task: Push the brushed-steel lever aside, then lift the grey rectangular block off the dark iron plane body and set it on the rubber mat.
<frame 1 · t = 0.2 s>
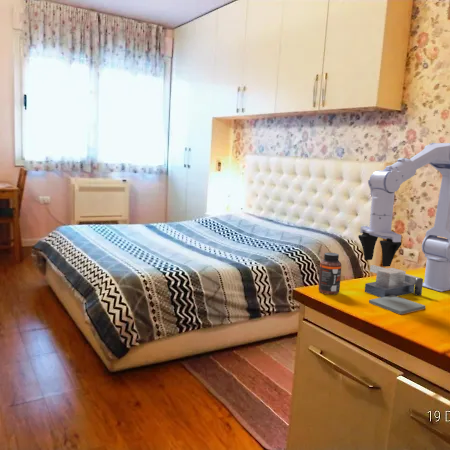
hand: (377, 262, 123), 10 cm above the table, fingers open, 7 cm apart
supplement bottle: (328, 292, 128), on the table
plane body: (389, 292, 130), on the table
rubber mat: (396, 305, 118), on the table
grey rectangular block: (390, 284, 130), point 2 cm above the table, touching plane body
steel lever: (395, 279, 134), point 3 cm above the table, hinge at 0.0°
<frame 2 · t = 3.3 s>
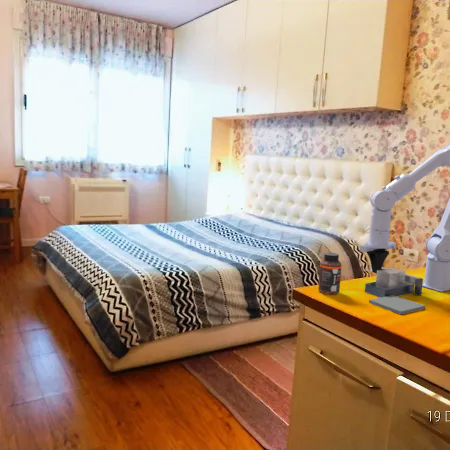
hand: (375, 272, 139), 3 cm above the table, fingers closed
steel lever: (395, 279, 135), point 3 cm above the table, hinge at -0.3°, touching gripper
everything else where it was.
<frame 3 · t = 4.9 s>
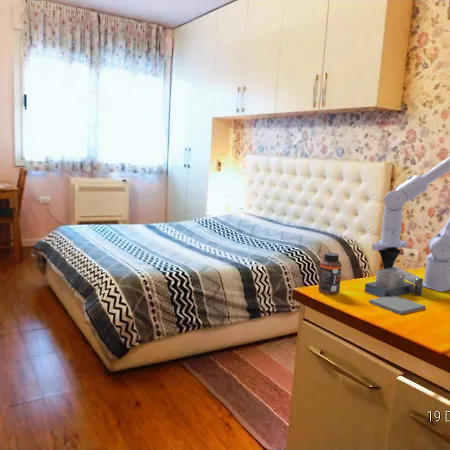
hand: (387, 270, 141), 3 cm above the table, fingers closed
steel lever: (403, 278, 136), point 3 cm above the table, hinge at -23.7°, touching gripper
everything else where it was.
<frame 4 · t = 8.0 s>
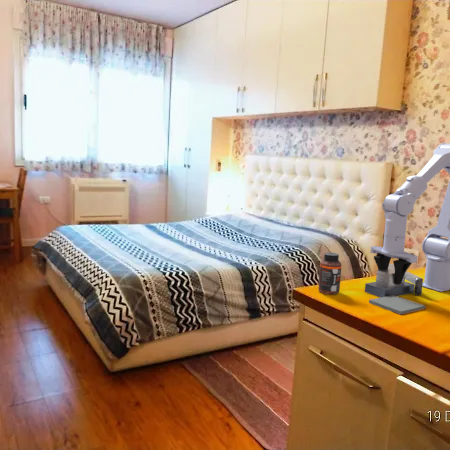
hand: (390, 281, 129), 3 cm above the table, fingers closed on grey rectangular block, 4 cm apart
grey rectangular block: (390, 284, 130), point 2 cm above the table, touching gripper, plane body
steel lever: (404, 278, 136), point 3 cm above the table, hinge at -24.5°
everything else where it was.
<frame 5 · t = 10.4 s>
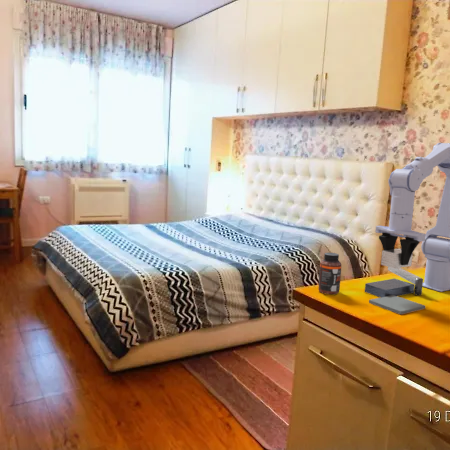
hand: (396, 262, 122), 10 cm above the table, fingers closed on grey rectangular block, 4 cm apart
grey rectangular block: (396, 265, 122), point 10 cm above the table, touching gripper
everything else where it was.
when the fingers open (3 cm above the table, at t = 12.8 s): grey rectangular block drops 1 cm, resting on rubber mat.
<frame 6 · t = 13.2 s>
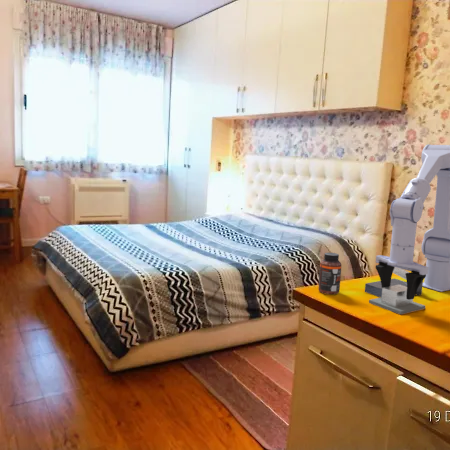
hand: (397, 294, 117), 3 cm above the table, fingers open, 7 cm apart
grey rectangular block: (396, 302, 118), point 1 cm above the table, touching rubber mat
everything else where it was.
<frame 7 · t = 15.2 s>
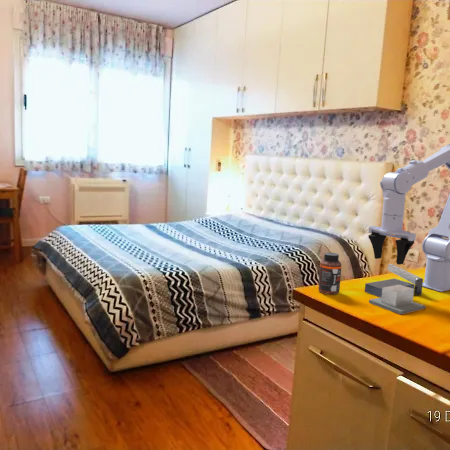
hand: (388, 261, 129), 9 cm above the table, fingers open, 7 cm apart
nothing on the table moved.
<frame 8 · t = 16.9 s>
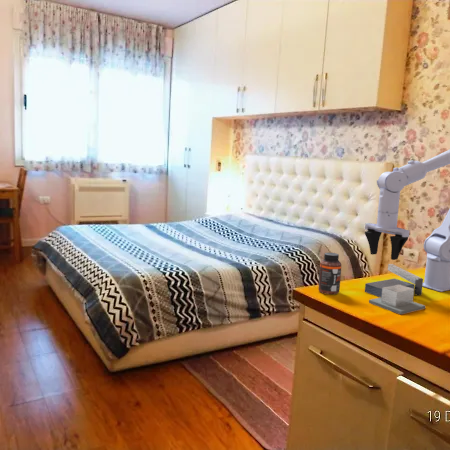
hand: (383, 256, 134), 9 cm above the table, fingers open, 7 cm apart
nothing on the table moved.
at the end: steel lever at -24° (first picture: +0°); grey rectangular block 0.0 cm off-centre on the rubber mat, point 0.8 cm above the rubber mat's base; grey rectangular block tilted 0° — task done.
